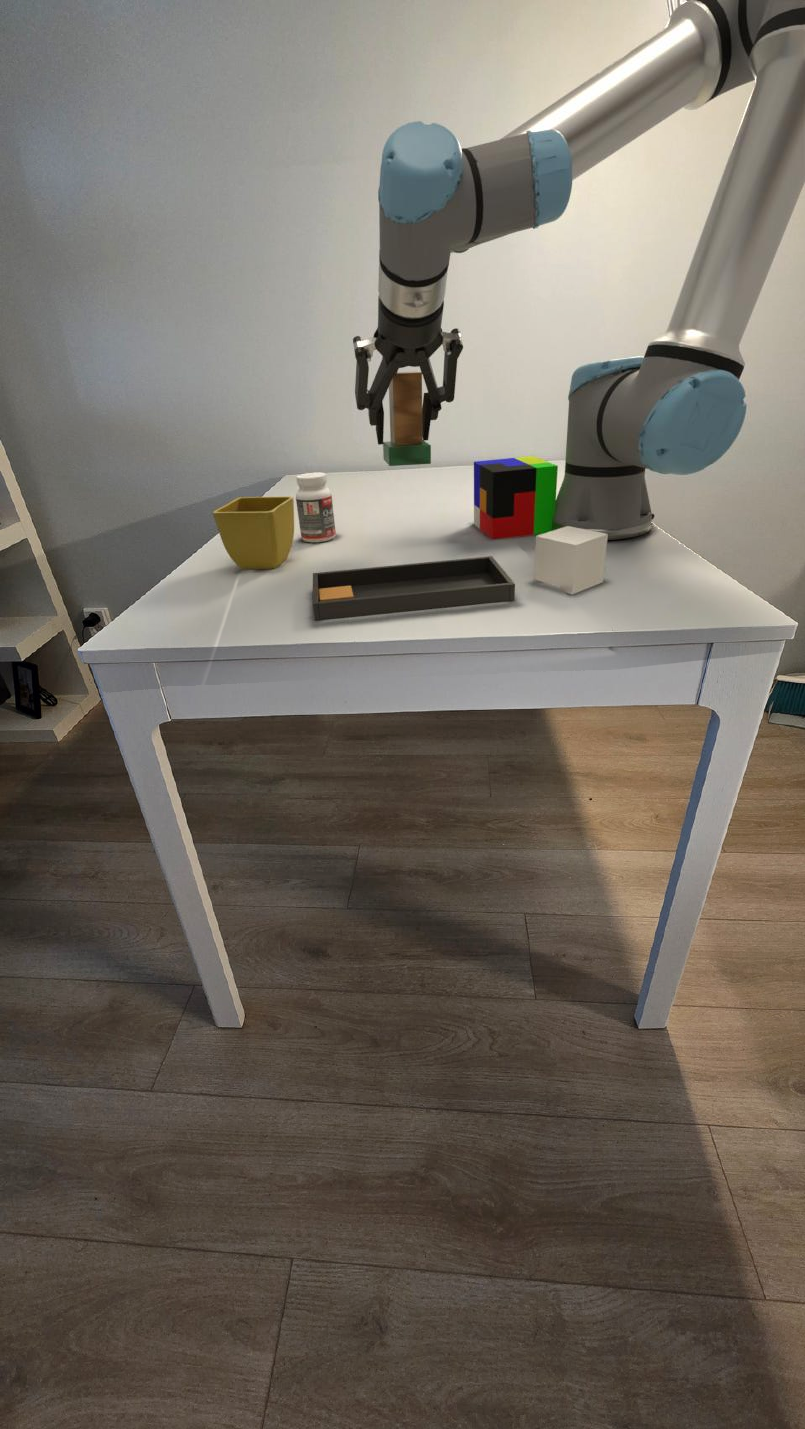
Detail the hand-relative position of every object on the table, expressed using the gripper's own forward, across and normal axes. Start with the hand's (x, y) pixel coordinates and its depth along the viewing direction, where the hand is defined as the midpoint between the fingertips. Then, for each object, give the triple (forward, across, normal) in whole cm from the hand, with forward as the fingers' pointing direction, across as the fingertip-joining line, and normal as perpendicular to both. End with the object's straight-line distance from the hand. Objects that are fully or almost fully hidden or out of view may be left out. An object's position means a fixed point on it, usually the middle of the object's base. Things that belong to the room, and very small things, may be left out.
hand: (401, 434), depth 95 cm
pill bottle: (+14, -14, -8) cm, 21 cm away
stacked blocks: (0, 0, -5) cm, 5 cm away
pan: (-9, -4, -30) cm, 32 cm away
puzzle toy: (+11, +17, -11) cm, 23 cm away
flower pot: (+5, -22, -17) cm, 28 cm away
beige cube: (-9, +16, -31) cm, 36 cm away
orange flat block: (-9, -13, -30) cm, 34 cm away
